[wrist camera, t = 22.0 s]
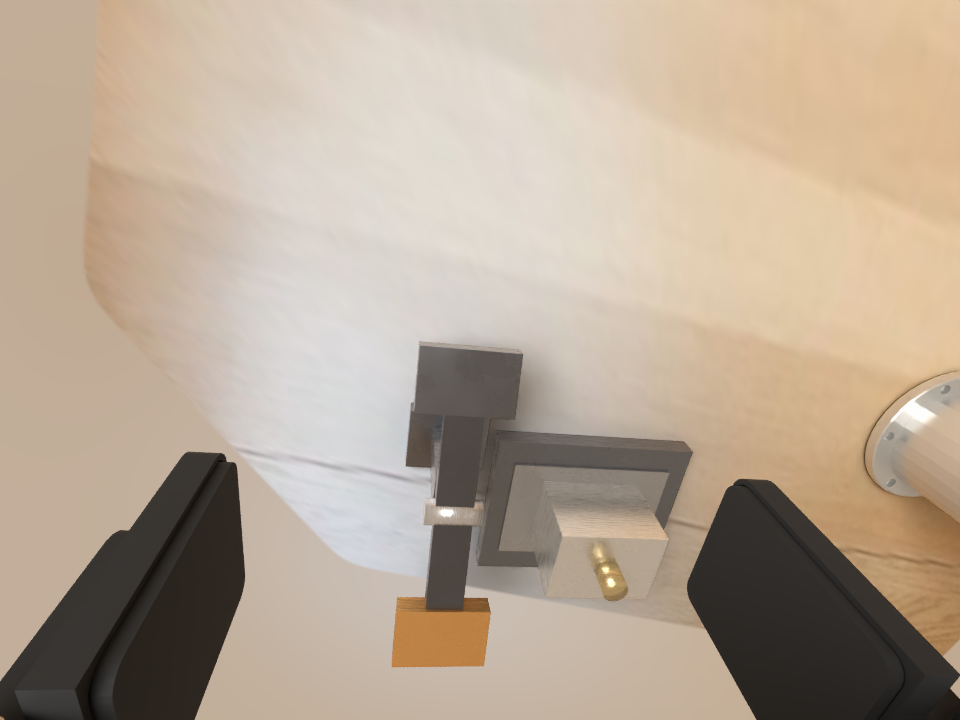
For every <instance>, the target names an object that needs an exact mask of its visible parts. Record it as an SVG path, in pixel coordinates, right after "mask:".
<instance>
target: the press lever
mask: <svg viewBox="0 0 960 720" xmlns="http://www.w3.org/2000/svg"><path fill="white" fill-rule="evenodd" d="M522 358H523V354H522V353H521V352H520V351H519V350H514V349H502V348H490V347H478V346H467V345H455V344H443V343H431V342H420V341H419V352H418V364H417V375H416V387H415V398H414V413H419V414H435V415H443V420H442V430H441V440H440V450H439V461H438V471H437V481H436V491H435V498H425V503H424V516H423V524H424V525H432V532H431V542H430V552H429V563H428V573H427V583H426V593H425V598H418V597H398V598H397V606H396V617H395V630H394V640H393V653H392V667H446V666H484V661H485V653H486V645H487V637H488V629H489V621H490V613H491V612H490V607H489V603H488V598H464V594H465V585H466V576H467V567H468V559H469V550H470V541H471V532H472V526H473V527H482V525H483V519H484V504H483V500H475V497H476V488H477V480H478V471H479V462H480V453H481V445H482V436H483V427H484V418H497V419H513V420H515V414H516V406H517V398H518V390H519V382H520V374H521V366H522Z"/></svg>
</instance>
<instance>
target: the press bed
mask: <svg viewBox="0 0 960 720" xmlns="http://www.w3.org/2000/svg"><path fill="white" fill-rule="evenodd" d="M490 419H491V418H484V427H483V436H482V445H481V453H480V462H479V470H482V466H483V460H484V454H485V448H486V442H487V436H488V431H489V425H490ZM442 420H443V415H435V414H419V413H414V403H411V410H410V421H409V432H408V442H407V453H406V466H410V467H431V493H432V498H435V491H436V481H437V471H438V461H439V450H440V440H441V430H442ZM692 453H693V452H692V451H691V449H690V448H689V447H688V446H687V445H686V443H685V442H681V441H664V440H648V439H631V438H614V437H598V436H581V435H565V434H548V433H532V432H515V431H498V432H497V438H496V444H495V449H494V455H493V460H492V466H491V472H490V477H489V483H488V489H487V494H486V500H485V505H484V519H483V525H482V527H481V528H480V533H479V539H478V545H477V550H476V556H477V564H478V566H514V567H538V565H537V561H536V557H535V553H534V550H533V546H532V542H531V534H532V529H533V525H534V521H535V517H536V513H537V508H538V504H539V500H540V496H541V492H542V487H543V483H544V481H547V482H568V483H588V484H609V485H629V486H638V488H639V490H640V491H641V493H642V495H643V496H644V498H645V500H646V502H647V503H648V505H649V507H650V508H651V510H652V512H653V513H654V515H655V517H656V518H657V520H658V522H659V524H660V525H661V527H662V529H663V530H664V528H665V525H666V523H667V520H668V517H669V515H670V512H671V509H672V506H673V504H674V501H675V498H676V496H677V493H678V490H679V488H680V485H681V482H682V480H683V477H684V474H685V472H686V469H687V466H688V464H689V461H690V458H691V455H692Z"/></svg>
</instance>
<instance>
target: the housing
mask: <svg viewBox="0 0 960 720" xmlns="http://www.w3.org/2000/svg"><path fill="white" fill-rule="evenodd" d="M668 541H669V539H668V537H667V535H666V534H665V532H664V530H663V529H662V527H661V525H660V524H659V522H658V520H657V518H656V517H655V515H654V513H653V512H652V510H651V508H650V507H649V505H648V503H647V502H646V500H645V498H644V496H643V495H642V493H641V491H640V490H639V488H638V486H629V485H609V484H588V483H568V482H547V481H544V483H543V487H542V492H541V496H540V500H539V504H538V508H537V513H536V517H535V521H534V525H533V529H532V534H531V542H532V546H533V550H534V553H535V557H536V561H537V565H538V569H539V573H540V576H541V580H542V584H543V588H544V592H545V596H546V598H605V599H607V600H609V601H617V600H620V599H622V598H625V599H646V598H647V596H648V593H649V590H650V588H651V585H652V583H653V580H654V578H655V575H656V572H657V570H658V567H659V565H660V562H661V559H662V557H663V554H664V552H665V549H666V547H667V544H668Z"/></svg>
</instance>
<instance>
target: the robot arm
mask: <svg viewBox="0 0 960 720" xmlns="http://www.w3.org/2000/svg"><path fill="white" fill-rule="evenodd" d="M865 463H866V468H867V471H868V473H869V475H870V476H871V478H872V479H873V480H874V481H875V482H876V483H877V484H878V485H879V486H881V487H882V488H883V489H884V490H886V491H888V492H890V493H892V494H895V495H899V496H905V497H918V496H924V497H925V498H926V499H928V500H929V501H930V502H932V503H933V504H934V505H936V506H937V507H938V508H940V509H941V510H942V511H944V512H945V513H947V514H948V515H949V516H951V517H952V518H953V519H955V520H956V521H957V522H959V523H960V371H958V372H951V373H948V374H944V375H940V376H937V377H935V378H932V379H930V380H928V381H925V382H923V383H922V384H920V385H918V386H916V387H915V388H913V389H911V390H910V391H908V392H907V393H906V394H904V395H903V396H902V397H900V398H899V399H898V400H897V401H896V402H895V403H894V404H893V405H892V406H891V407H890V408H889V409H888V410H887V411H886V412H885V413H884V414H883V416H882V417H881V418H880V419H879V421H878V422H877V424H876V426H875V427H874V429H873V431H872V432H871V435H870V438H869V440H868V443H867V447H866V453H865ZM244 582H245V568H244V554H243V542H242V528H241V514H240V501H239V488H238V474H237V466H236V464H235V463H233V462H227V461H226V457H225V455H224V454H222V453H203V452H187V453H185V454H184V455H183V456H182V457H181V459H180V460H179V462H178V463H177V464H176V466H175V467H174V469H173V470H172V471H171V473H170V474H169V476H168V477H167V478H166V480H165V481H164V483H163V484H162V486H161V487H160V488H159V490H158V491H157V492H156V494H155V495H154V497H153V498H152V499H151V501H150V502H149V503H148V505H147V506H146V508H145V509H144V510H143V512H142V513H141V515H140V516H139V517H138V519H137V520H136V522H135V523H134V525H133V526H132V527H131V529H130V530H129V531H125V530H120V531H118V532H116V533H114V534H113V535H112V536H111V537H110V538H109V539H108V540H107V541H106V542H105V543H104V545H103V546H102V547H101V549H100V550H99V551H98V553H97V554H96V555H95V557H94V558H93V559H92V561H91V562H90V563H89V565H88V566H87V568H86V569H85V570H84V571H83V572H82V574H81V575H80V576H79V578H78V579H77V580H76V582H75V583H74V584H73V586H72V587H71V588H70V590H69V591H68V592H67V594H66V595H65V596H64V598H63V599H62V600H61V602H60V603H59V604H58V606H57V607H56V608H55V610H54V611H53V612H52V614H51V615H50V616H49V618H48V619H47V620H46V622H45V623H44V624H43V625H42V627H41V628H40V629H39V631H38V632H37V633H36V635H35V636H34V637H33V639H32V640H31V642H30V643H29V644H28V645H27V647H26V648H25V649H24V651H23V652H22V653H21V655H20V656H19V657H18V659H17V660H16V661H15V663H14V664H13V665H12V667H11V668H10V669H9V671H8V672H7V673H6V675H5V676H4V677H3V679H2V680H1V681H0V720H194V719H195V717H196V714H197V712H198V709H199V706H200V704H201V701H202V698H203V696H204V693H205V690H206V688H207V685H208V682H209V680H210V677H211V675H212V672H213V670H214V667H215V664H216V662H217V659H218V656H219V654H220V651H221V649H222V646H223V643H224V640H225V638H226V635H227V633H228V630H229V628H230V625H231V622H232V620H233V617H234V614H235V612H236V609H237V607H238V604H239V601H240V599H241V596H242V592H243V588H244ZM687 592H688V596H689V599H690V601H691V603H692V605H693V607H694V609H695V611H696V612H697V614H698V616H699V618H700V619H701V621H702V623H703V625H704V627H705V628H706V630H707V632H708V633H709V635H710V637H711V639H712V641H713V643H714V645H715V646H716V648H717V650H718V652H719V653H720V655H721V657H722V659H723V661H724V662H725V664H726V666H727V668H728V669H729V671H730V673H731V675H732V677H733V678H734V680H735V682H736V684H737V686H738V687H739V689H740V691H741V693H742V695H743V696H744V698H745V700H746V701H747V703H748V705H749V707H750V709H751V710H752V712H753V714H754V716H755V718H756V720H960V699H959V698H958V697H957V696H956V695H955V694H954V692H952V690H951V689H950V687H951V686H952V685H953V684H954V683H955V681H956V680H957V679H958V678H959V676H960V674H959V673H958V672H957V671H956V670H955V669H954V668H953V667H952V666H951V665H950V664H949V663H948V662H947V661H946V660H945V659H944V658H943V657H942V655H941V654H940V653H939V652H938V651H937V650H936V649H935V648H934V647H933V646H932V645H931V644H930V643H929V642H928V641H927V640H926V639H925V638H924V637H923V636H922V635H921V634H920V633H919V632H918V631H917V630H916V629H915V628H914V627H913V626H912V625H911V624H910V623H909V622H908V621H907V620H906V618H905V617H904V616H903V615H902V614H901V613H900V612H899V611H898V610H897V609H896V608H895V607H894V606H893V605H892V604H891V603H890V602H889V601H888V600H887V599H886V598H885V597H884V596H883V595H882V594H881V593H880V592H879V591H878V590H877V589H876V588H875V587H874V586H873V585H872V584H871V583H870V581H869V580H868V579H867V578H866V577H865V576H864V575H863V574H862V573H861V572H860V571H859V570H858V569H857V568H856V567H855V566H854V565H853V564H852V563H851V562H850V561H849V560H848V559H847V558H846V557H845V556H844V555H843V554H842V553H841V552H840V551H839V550H838V549H837V548H836V547H835V546H834V544H833V543H832V542H831V541H830V540H829V539H828V538H827V537H826V536H825V535H824V534H823V533H822V532H821V531H820V530H819V529H818V528H817V527H816V526H815V525H814V524H813V523H812V522H811V521H810V520H809V519H808V518H807V517H806V516H805V515H804V514H803V513H802V512H801V511H800V510H799V509H798V507H797V506H796V505H795V504H794V503H793V502H792V501H791V500H790V499H789V498H788V497H787V496H786V495H785V494H784V493H783V492H782V491H781V490H780V489H779V488H778V487H777V486H776V485H775V484H774V483H772V482H771V481H768V480H755V479H739V480H737V481H736V482H735V483H734V484H733V486H730V487H729V488H728V489H727V490H726V492H725V494H724V497H723V499H722V501H721V504H720V506H719V508H718V511H717V513H716V516H715V518H714V520H713V523H712V525H711V528H710V530H709V532H708V535H707V537H706V539H705V542H704V544H703V547H702V549H701V551H700V554H699V556H698V558H697V561H696V563H695V566H694V568H693V570H692V573H691V575H690V577H689V580H688V583H687Z"/></svg>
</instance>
